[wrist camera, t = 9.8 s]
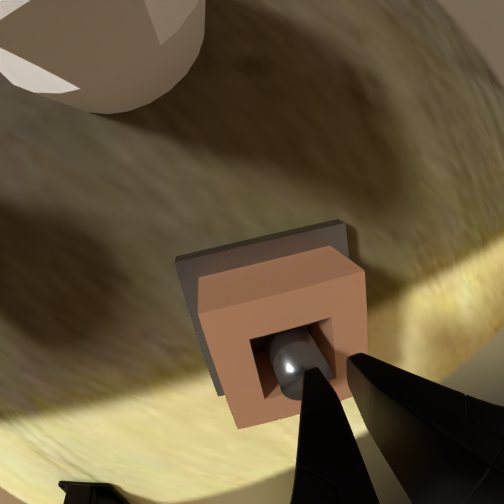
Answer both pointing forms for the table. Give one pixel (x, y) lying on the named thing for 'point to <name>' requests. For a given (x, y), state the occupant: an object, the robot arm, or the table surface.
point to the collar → (281, 325)
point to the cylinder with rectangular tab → (100, 49)
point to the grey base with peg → (252, 252)
